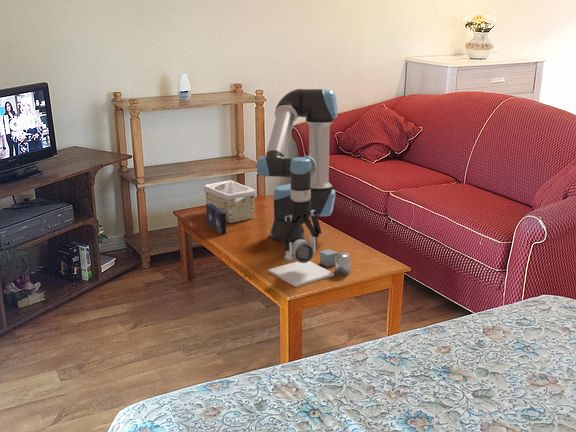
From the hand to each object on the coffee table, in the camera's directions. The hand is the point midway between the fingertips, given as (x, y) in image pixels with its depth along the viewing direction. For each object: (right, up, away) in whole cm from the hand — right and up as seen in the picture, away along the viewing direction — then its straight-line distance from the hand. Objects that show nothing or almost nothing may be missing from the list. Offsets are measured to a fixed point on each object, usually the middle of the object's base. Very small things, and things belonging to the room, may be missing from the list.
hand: (300, 255), depth 257 cm
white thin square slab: (0, -7, +2) cm, 8 cm away
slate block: (+11, -4, +12) cm, 17 cm away
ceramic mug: (-1, -2, +1) cm, 2 cm away
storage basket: (-33, +15, +73) cm, 81 cm away
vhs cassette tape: (-38, +9, +54) cm, 67 cm away
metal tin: (+16, -7, +4) cm, 18 cm away
